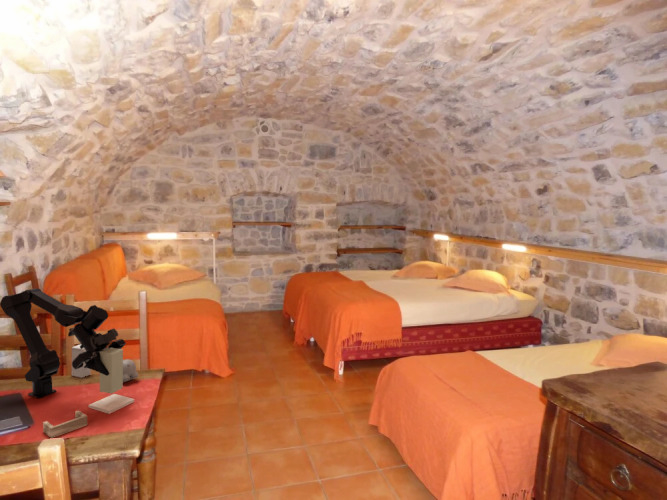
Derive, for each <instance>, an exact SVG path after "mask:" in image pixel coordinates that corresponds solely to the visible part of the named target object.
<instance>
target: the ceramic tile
mask: <svg viewBox="0 0 667 500" xmlns="http://www.w3.org/2000/svg"><path fill="white" fill-rule="evenodd" d="M132 403H135V398H132V397H129V396H128V397H127V396H123V395H122V394H121V395H120V394H117V393H112V394H110V395H108V396H106V397H104V398H101V399H99V400H97V401H95V402H92V403H90V404H88V408H89V409H92V410H95V411H99V412H102V413H105V414H108V415H110V414H112V413H115V412H116V411H118V410H121V409H122V408H125V407H127V406H128V405H130V404H132Z"/></svg>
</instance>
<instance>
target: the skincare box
mask: <svg viewBox="0 0 667 500" xmlns="http://www.w3.org/2000/svg"><path fill="white" fill-rule="evenodd" d="M80 346H81V343H80V344H77V345H74V346H72V347H71V362H72V361H73V360H74V359H75V358H76V357H77V356H78V355H79V354H80V353H83V352H86V350H85V349H84V348H83V349H81V348H80ZM83 363H84V364H83V367H81V368H79V369H76V370H75V369H74V367H73V366H72V365H71V376H73V377H76V378H79V379H80V378H85V376H86V377H88V376H90V375H92V369H89V368H84V366H85V365H86V364H85V362H83Z"/></svg>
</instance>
